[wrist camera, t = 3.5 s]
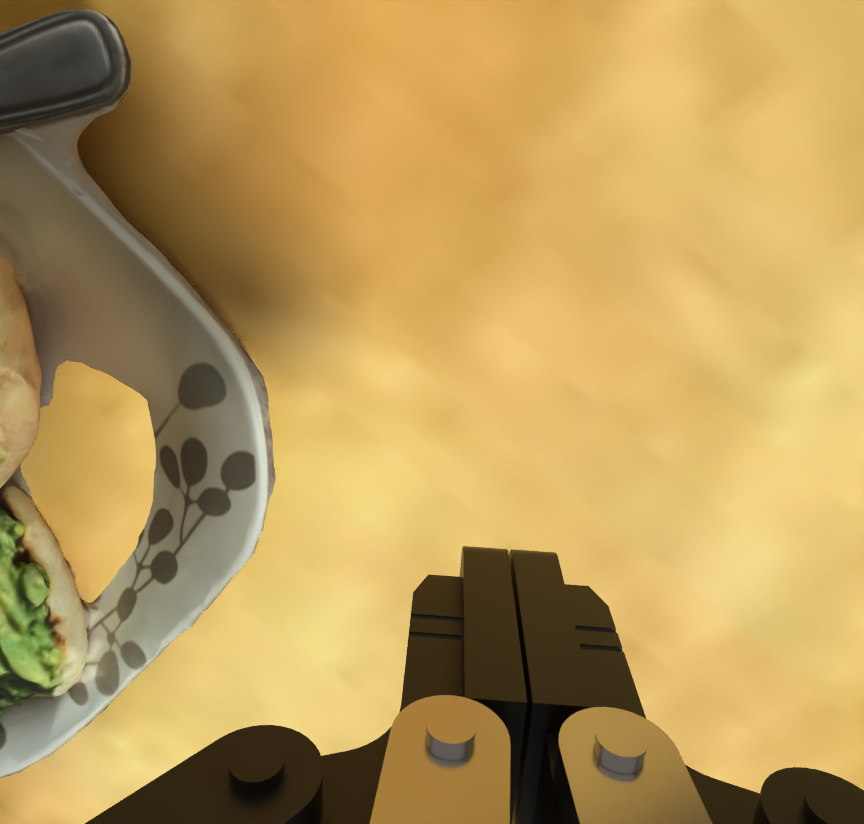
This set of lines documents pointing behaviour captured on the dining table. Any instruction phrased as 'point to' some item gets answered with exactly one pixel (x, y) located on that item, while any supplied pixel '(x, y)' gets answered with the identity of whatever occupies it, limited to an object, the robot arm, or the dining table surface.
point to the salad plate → (127, 362)
